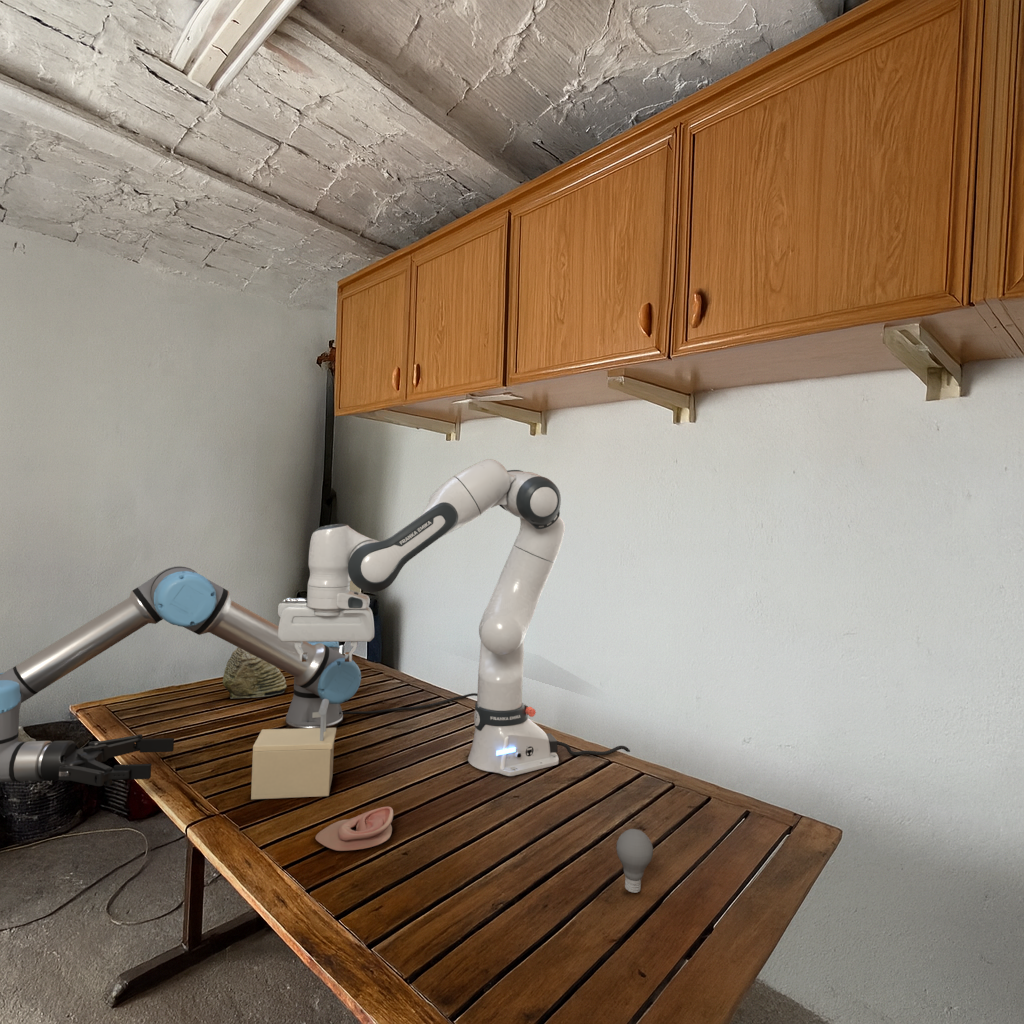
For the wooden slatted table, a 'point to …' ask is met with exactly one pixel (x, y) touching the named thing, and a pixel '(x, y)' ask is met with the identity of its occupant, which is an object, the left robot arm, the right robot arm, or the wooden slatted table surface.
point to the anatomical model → (358, 831)
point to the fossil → (252, 676)
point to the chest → (291, 773)
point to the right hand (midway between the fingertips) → (326, 661)
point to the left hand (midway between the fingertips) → (162, 757)
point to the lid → (298, 736)
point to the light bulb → (634, 857)
